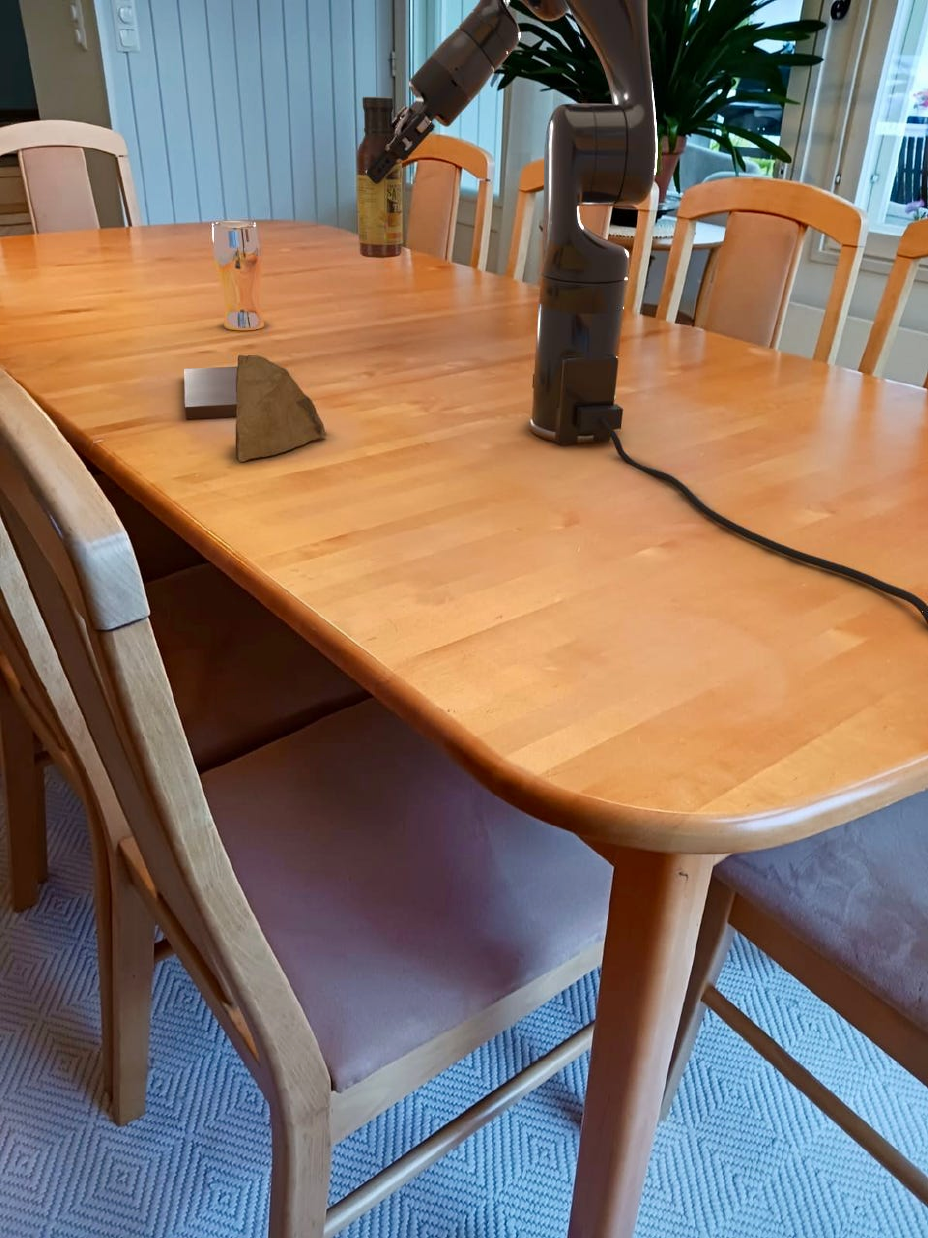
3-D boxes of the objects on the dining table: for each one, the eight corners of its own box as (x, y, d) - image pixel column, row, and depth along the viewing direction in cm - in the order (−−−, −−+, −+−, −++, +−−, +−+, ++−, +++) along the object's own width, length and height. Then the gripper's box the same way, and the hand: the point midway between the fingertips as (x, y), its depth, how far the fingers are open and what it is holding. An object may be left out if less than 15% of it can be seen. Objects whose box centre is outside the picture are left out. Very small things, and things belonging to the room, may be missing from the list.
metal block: (290, 413, 112) (289, 401, 111) (186, 419, 109) (184, 407, 108) (279, 375, 125) (278, 364, 124) (185, 380, 122) (184, 368, 121)
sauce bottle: (396, 260, 131) (393, 97, 121) (353, 258, 132) (346, 96, 122) (408, 252, 136) (406, 96, 126) (366, 250, 137) (361, 95, 127)
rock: (325, 404, 107) (235, 395, 105) (333, 357, 100) (237, 346, 97) (324, 487, 103) (231, 479, 101) (333, 444, 96) (232, 435, 93)
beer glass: (212, 327, 146) (200, 224, 139) (241, 318, 152) (231, 218, 144) (247, 333, 143) (237, 228, 136) (275, 324, 149) (267, 222, 141)
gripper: (420, 54, 129) (339, 150, 133) (444, 53, 117) (354, 158, 121) (457, 99, 133) (377, 191, 136) (484, 102, 121) (395, 203, 124)
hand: (367, 175), depth 128 cm, fingers closed on sauce bottle, 6 cm apart
